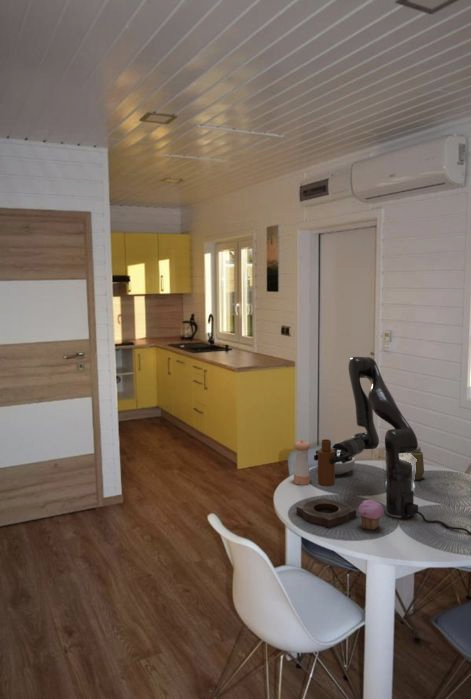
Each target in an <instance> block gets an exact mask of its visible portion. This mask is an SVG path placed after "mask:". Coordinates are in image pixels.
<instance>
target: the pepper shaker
mask: <svg viewBox="0 0 471 699" xmlns="http://www.w3.org/2000/svg"><path fill="white" fill-rule="evenodd" d="M310 447H311V446H310V443H309V442H307V441H304V440H303V439H300V440H299V441H297V442H294V444H293V448H294V450H295V460H294V473H293V483H294V484H296V485H299V486H300V485H301V486H303V485H304V486H305V485H309V484H310V483H311V473H310V463H309V449H310Z"/></svg>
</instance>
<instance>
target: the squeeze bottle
mask: <svg viewBox="0 0 471 699" xmlns="http://www.w3.org/2000/svg"><path fill="white" fill-rule="evenodd" d="M421 449H422V447H421V446H419V445H418V446H417V449H416V450H415V451H414V452H410V453H411V454H412V455H413V456H414V457H415V458H416V459H417V462H416V474H415V480H416V481H419V480H422V478H423V476H424V473H425V465H424V464H425V463H424V453H423V451H422V450H421Z"/></svg>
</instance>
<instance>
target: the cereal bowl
mask: <svg viewBox="0 0 471 699" xmlns="http://www.w3.org/2000/svg"><path fill="white" fill-rule="evenodd" d="M355 462H356V459H355V456H354V457H352V460H351V461H348V462H346V463H342V462H339V463H338V462H336V463H335V476H337V475H344V474H345V473H349V472H350V471H351V470H353V468H354V467H355V464H356V463H355Z"/></svg>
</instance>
